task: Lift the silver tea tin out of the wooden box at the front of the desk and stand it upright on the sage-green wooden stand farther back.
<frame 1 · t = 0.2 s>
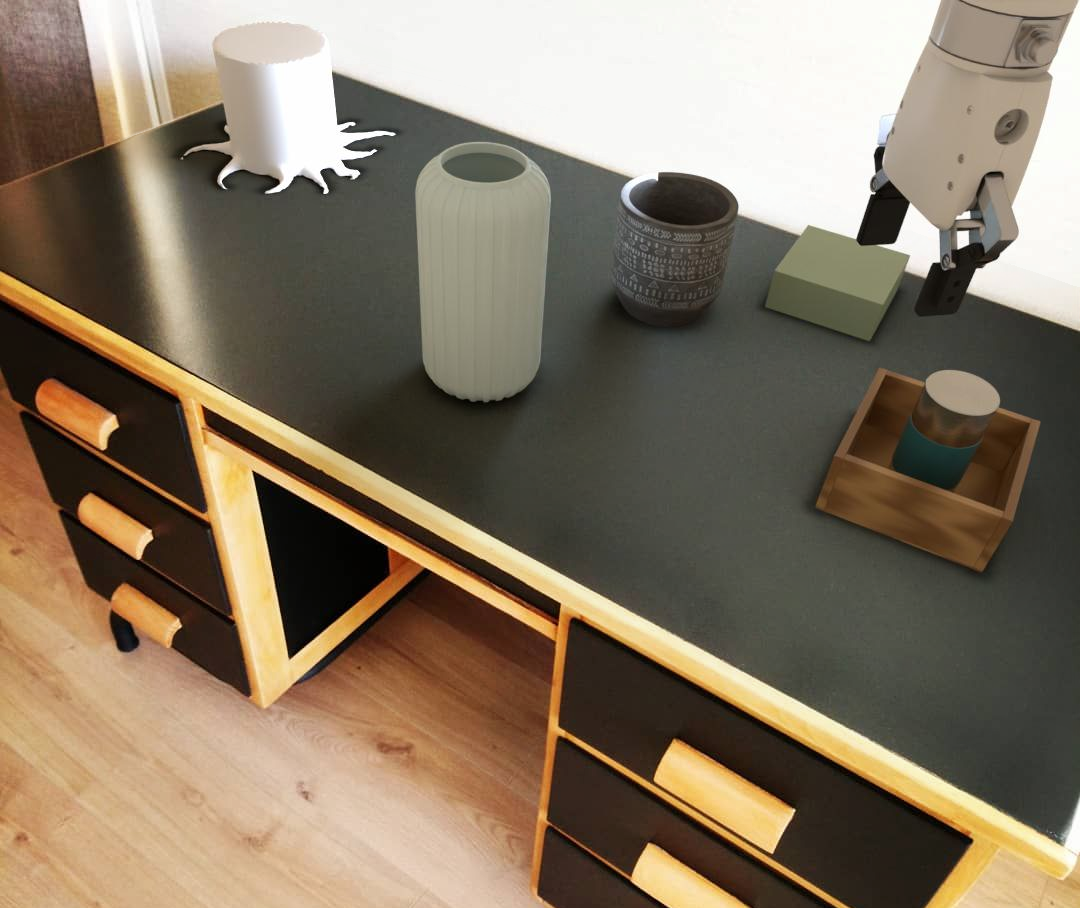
hand: (903, 276, 70), 21 cm above the table, tool pointing down, fingers open, 9 cm apart
stand: (831, 301, 107), on the table
wooden box: (914, 492, 86), on the table
planter: (660, 308, 104), on the table
vase: (481, 380, 94), on the table
white tree stump model: (283, 153, 125), on the table
tea tin: (916, 488, 85), point 1 cm above the table, touching wooden box
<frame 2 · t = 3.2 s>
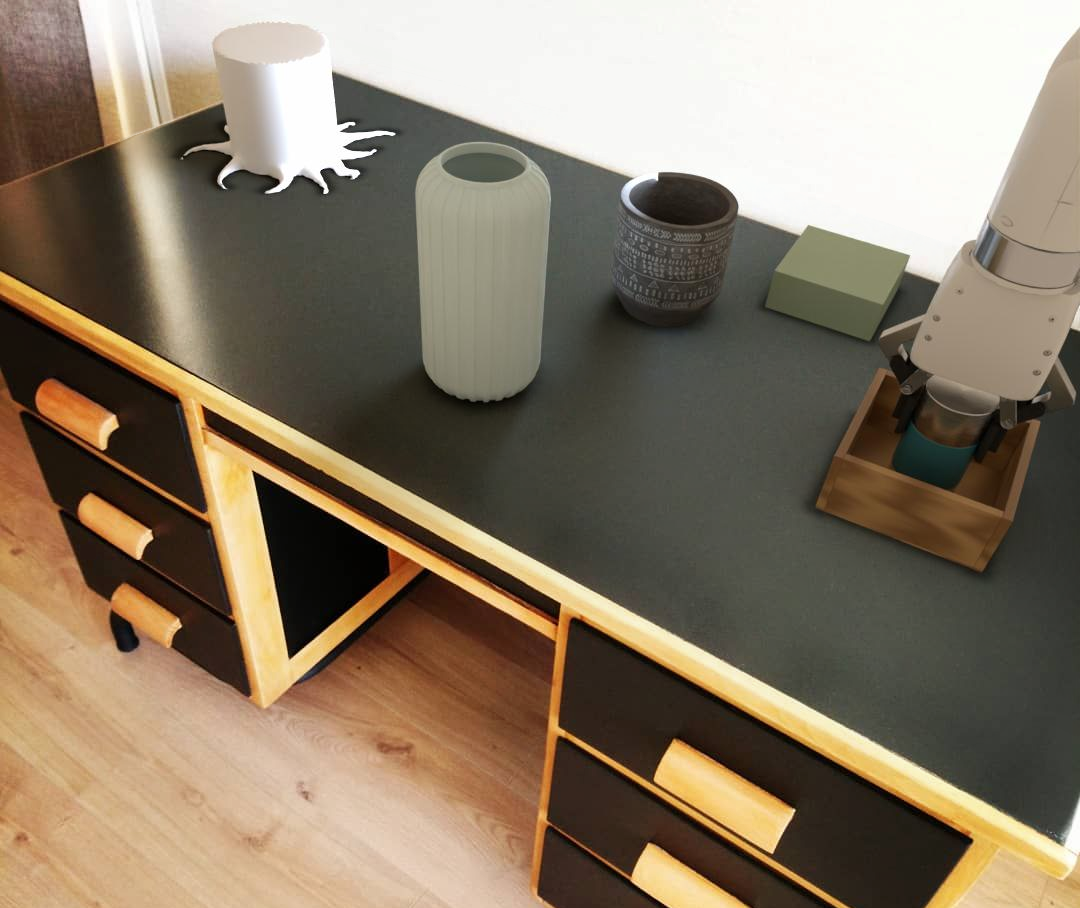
hand: (940, 437, 81), 7 cm above the table, tool pointing down, fingers closed on tea tin, 6 cm apart
tea tin: (916, 488, 85), point 1 cm above the table, touching wooden box, gripper
everything else where it was.
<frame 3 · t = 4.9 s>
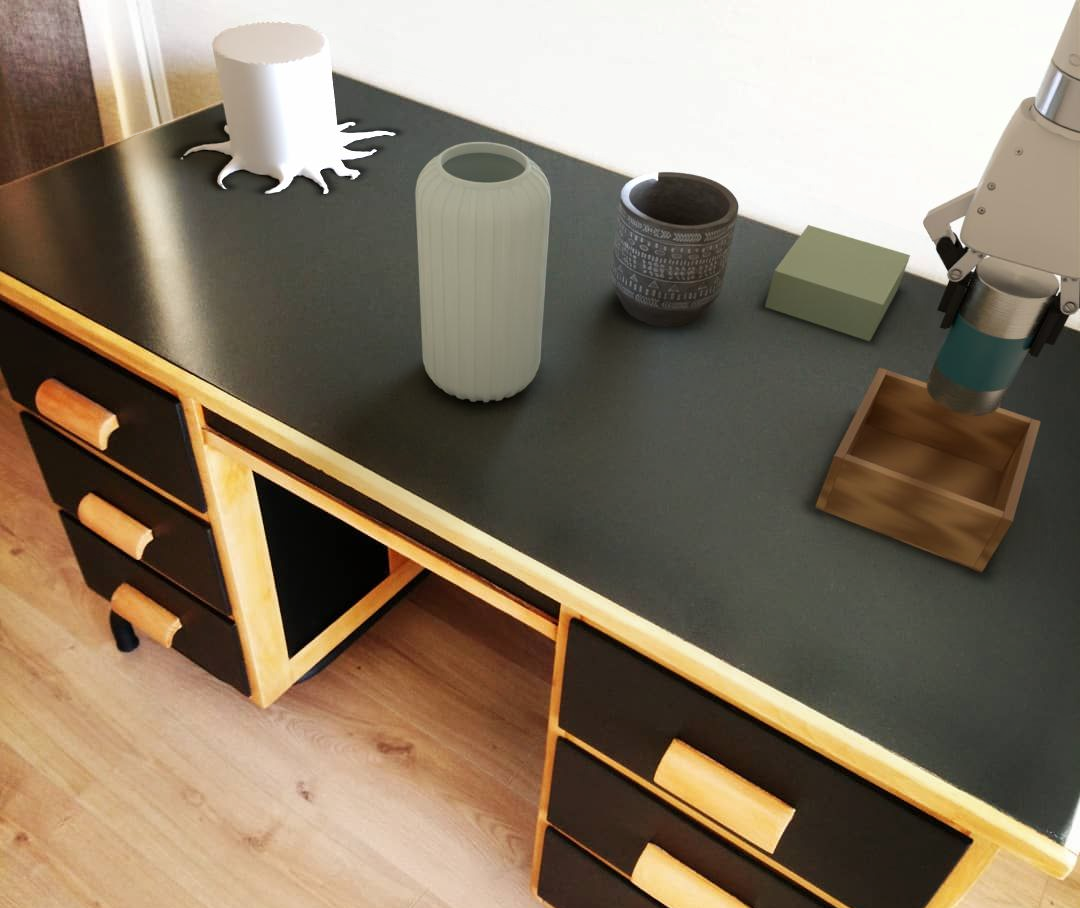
hand: (991, 331, 73), 17 cm above the table, tool pointing down, fingers closed on tea tin, 6 cm apart
tea tin: (963, 393, 78), point 11 cm above the table, touching gripper
everything else where it was.
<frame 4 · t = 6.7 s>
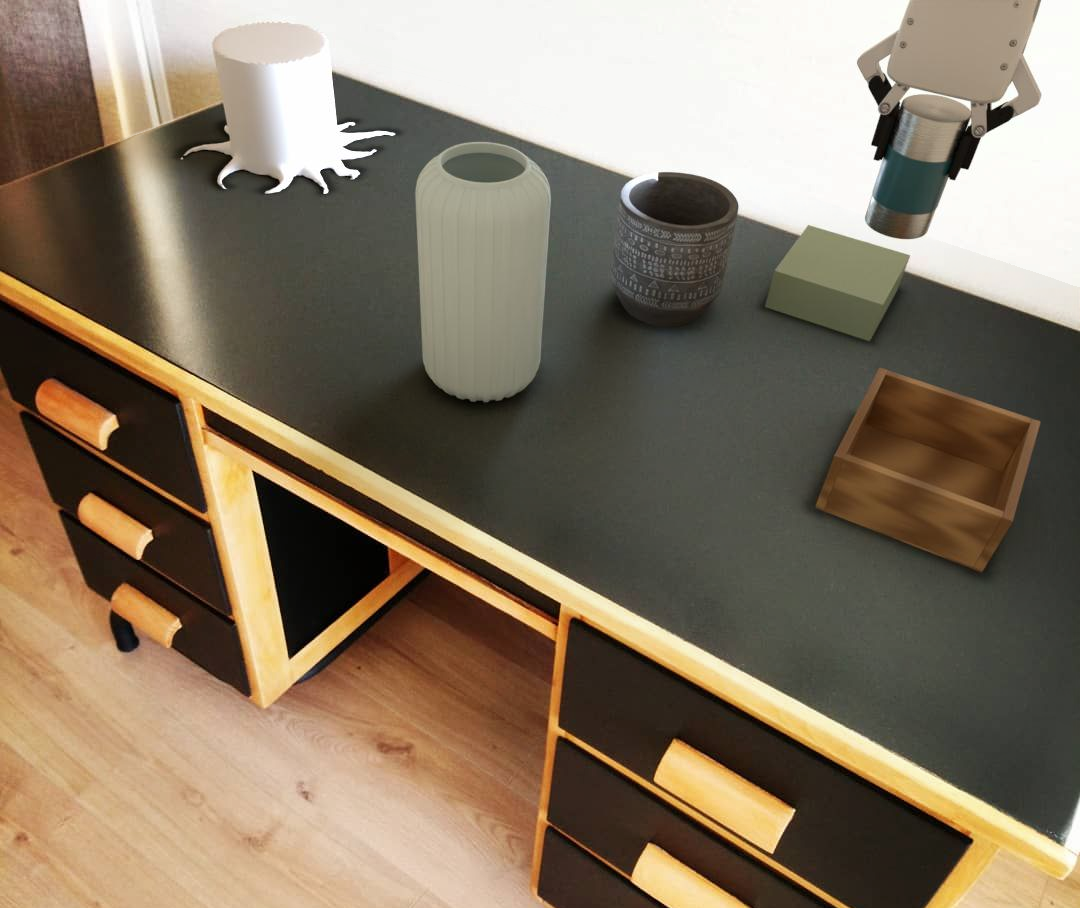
hand: (917, 162, 86), 20 cm above the table, tool pointing down, fingers closed on tea tin, 6 cm apart
tea tin: (896, 223, 90), point 14 cm above the table, touching gripper
everything else where it was.
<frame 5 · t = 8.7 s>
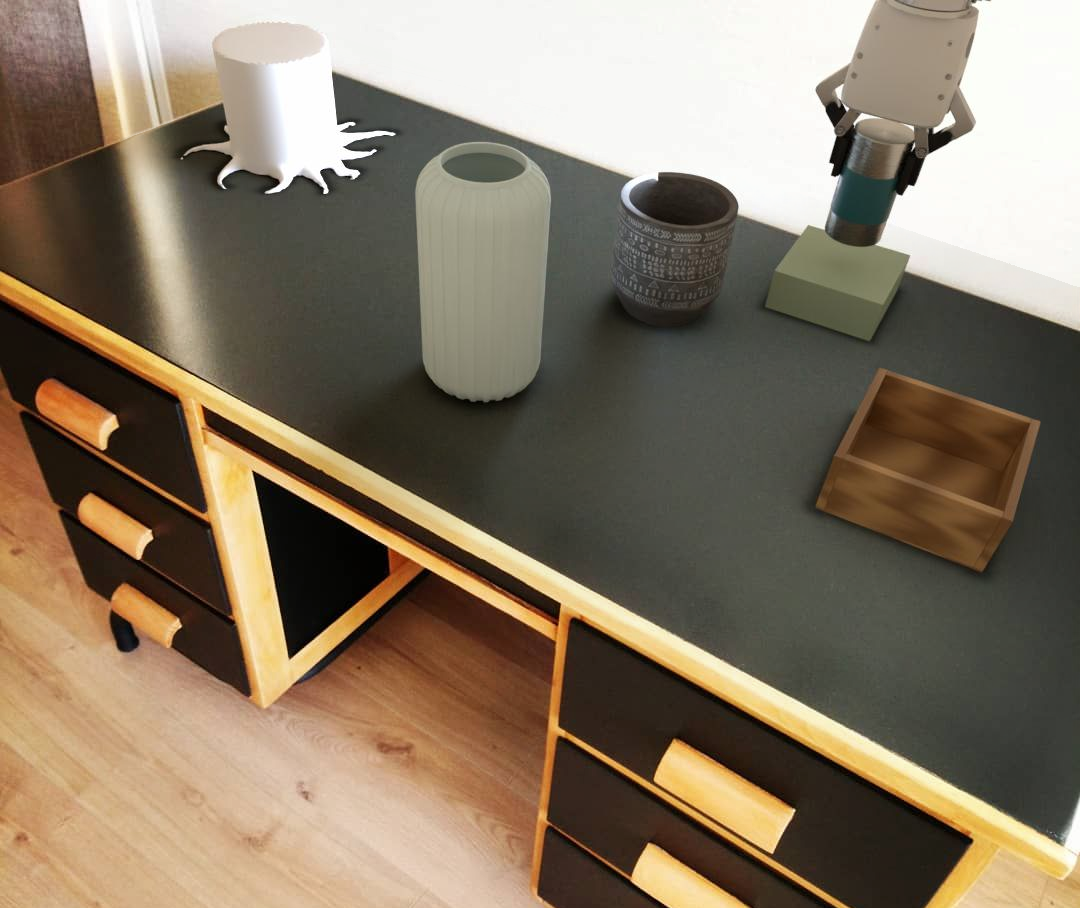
hand: (870, 179, 96), 15 cm above the table, tool pointing down, fingers closed on tea tin, 6 cm apart
tea tin: (852, 233, 101), point 9 cm above the table, touching gripper
everything else where it was.
when the fingers open (11 cm above the table, at t = 10.1 s): tea tin stays where it is, resting on stand.
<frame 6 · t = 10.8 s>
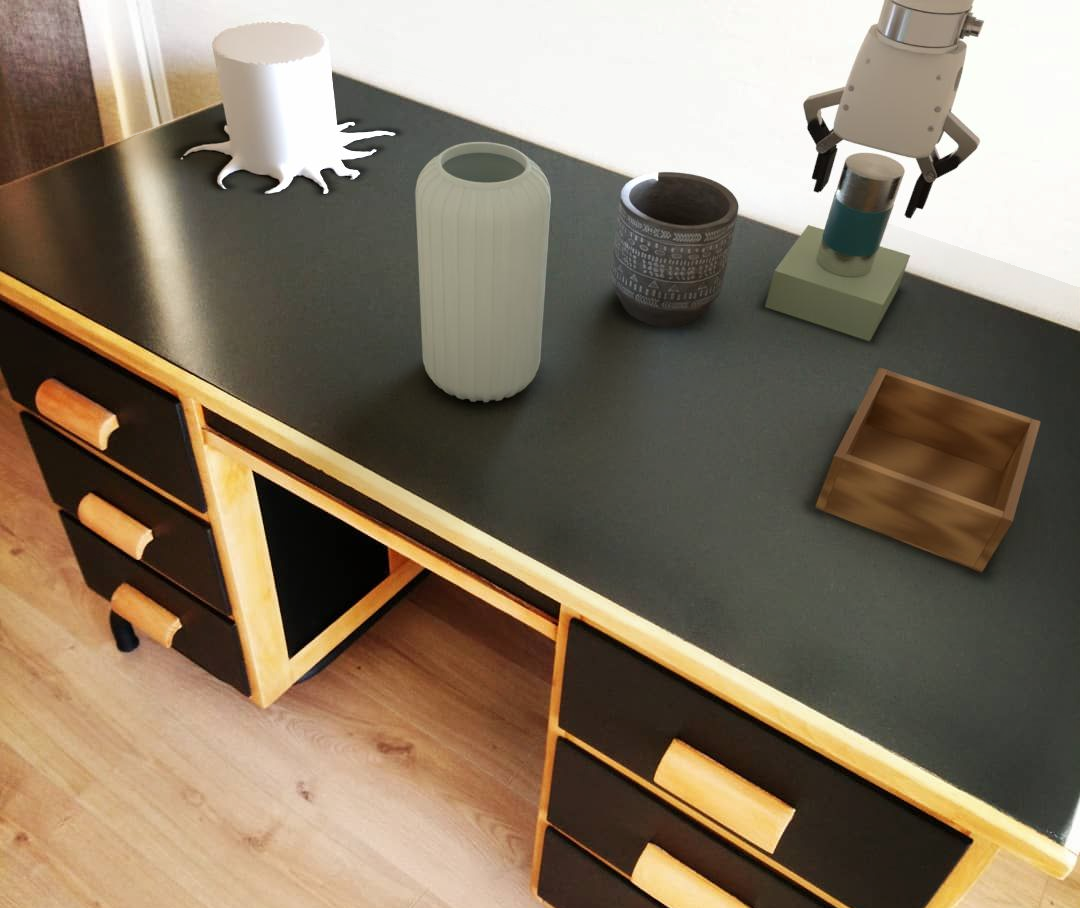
hand: (864, 199, 98), 12 cm above the table, tool pointing down, fingers open, 9 cm apart
tea tin: (843, 262, 103), point 5 cm above the table, touching stand
everything else where it was.
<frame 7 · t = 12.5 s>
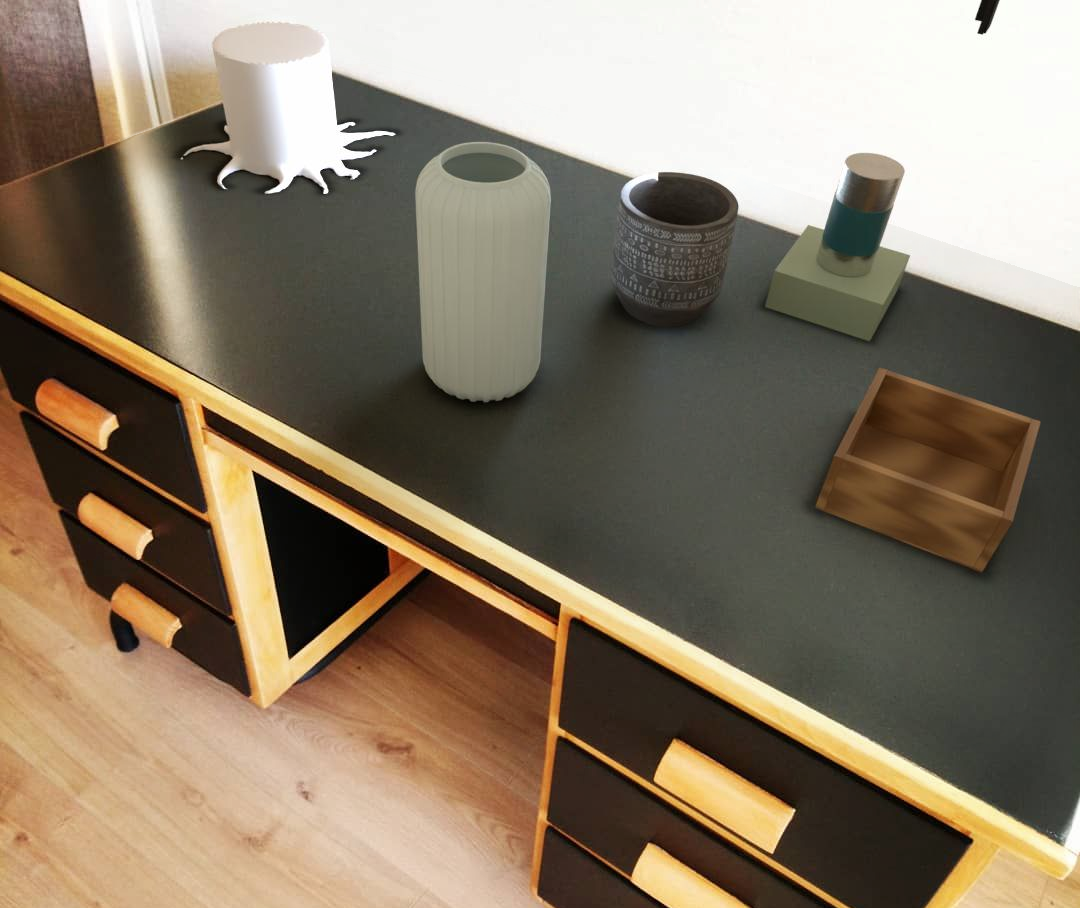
hand: (1035, 40, 89), 28 cm above the table, tool pointing down, fingers open, 9 cm apart
nothing on the table moved.
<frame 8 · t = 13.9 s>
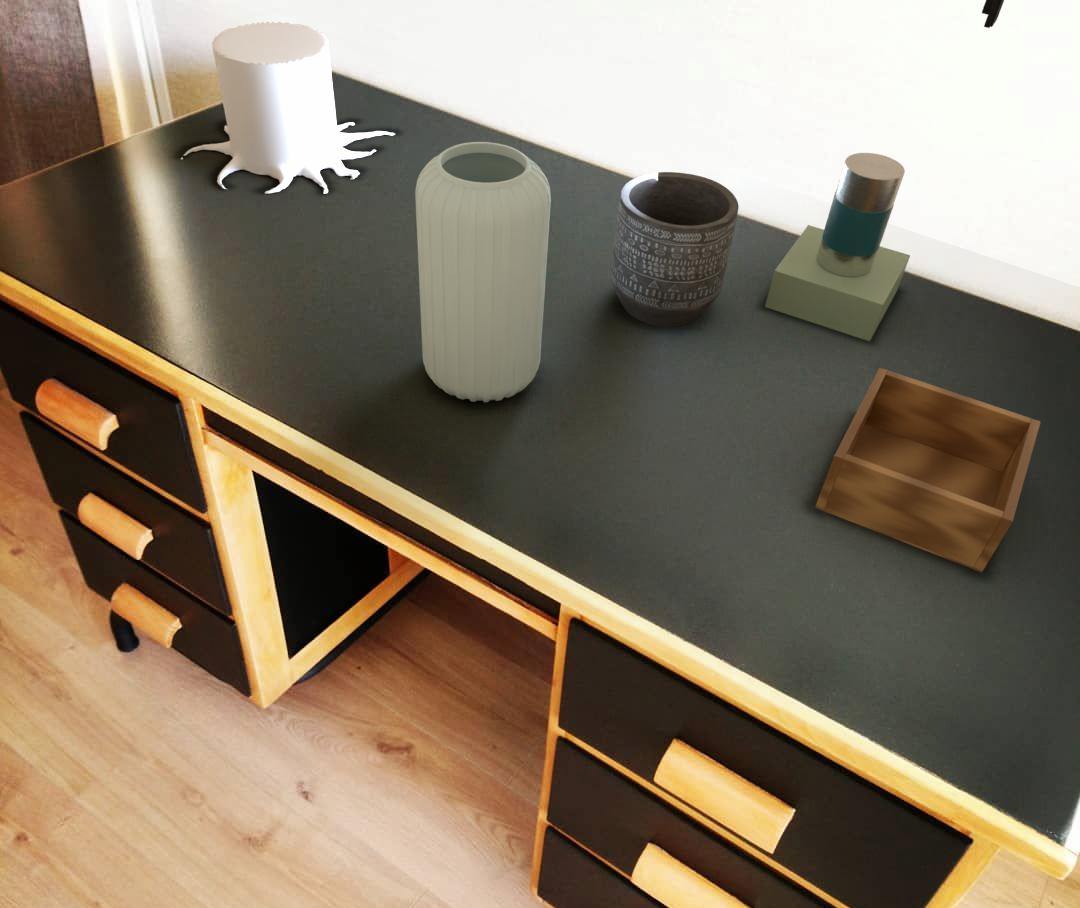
hand: (1041, 35, 88), 28 cm above the table, tool pointing down, fingers open, 9 cm apart
nothing on the table moved.
at the end: tea tin inside the target area on the stand (0.0 cm from its centre), point 5.0 cm above the stand's base; tea tin tilted 0°; the gripper is holding nothing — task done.
